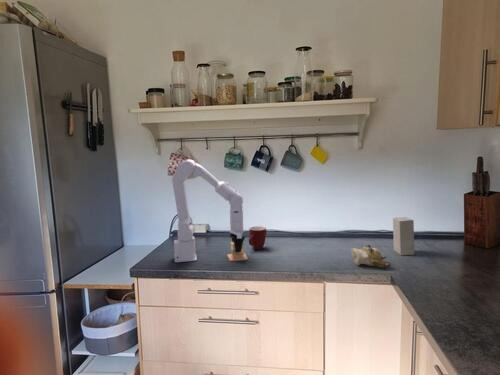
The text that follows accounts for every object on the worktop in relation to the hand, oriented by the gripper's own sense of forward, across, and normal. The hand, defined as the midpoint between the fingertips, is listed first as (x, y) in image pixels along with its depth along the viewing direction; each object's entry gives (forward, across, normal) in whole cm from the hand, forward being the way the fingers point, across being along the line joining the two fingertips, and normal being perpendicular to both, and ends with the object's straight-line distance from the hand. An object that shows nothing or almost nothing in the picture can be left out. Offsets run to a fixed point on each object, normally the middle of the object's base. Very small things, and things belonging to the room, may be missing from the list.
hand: (237, 250), depth 160 cm
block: (+2, 0, 0) cm, 2 cm away
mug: (+4, +10, -11) cm, 15 cm away
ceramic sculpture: (+4, -23, -51) cm, 56 cm away
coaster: (+3, 0, 0) cm, 3 cm away
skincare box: (+4, -12, -74) cm, 75 cm away
